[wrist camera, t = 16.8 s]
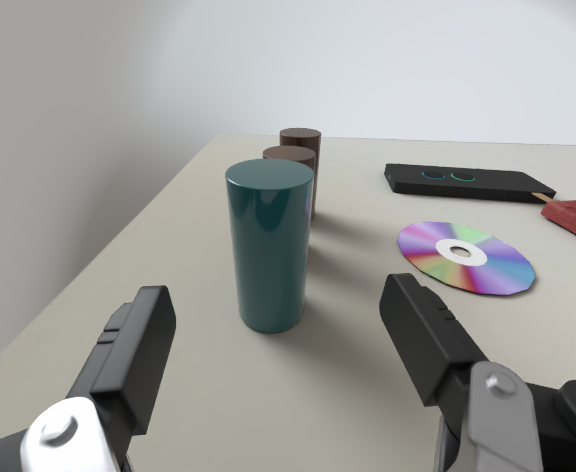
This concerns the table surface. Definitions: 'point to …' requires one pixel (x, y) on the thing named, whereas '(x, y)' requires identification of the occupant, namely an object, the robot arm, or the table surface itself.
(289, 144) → the cylinder
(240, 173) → the teal cylinder
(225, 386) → the table surface
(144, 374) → the robot arm
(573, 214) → the popsicle
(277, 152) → the brown wooden cylinder
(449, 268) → the cd
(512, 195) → the smart home device
